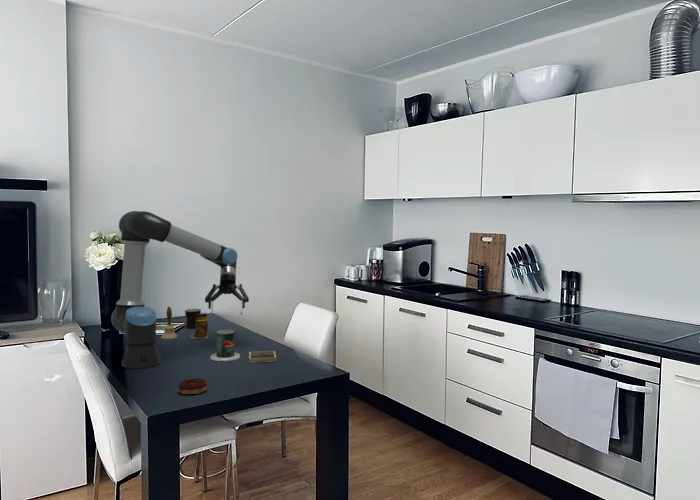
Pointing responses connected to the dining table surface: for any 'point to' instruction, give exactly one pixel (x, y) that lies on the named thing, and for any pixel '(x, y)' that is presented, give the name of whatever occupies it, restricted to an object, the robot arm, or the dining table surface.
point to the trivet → (215, 358)
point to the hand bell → (169, 327)
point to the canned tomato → (225, 343)
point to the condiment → (201, 326)
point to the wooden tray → (259, 353)
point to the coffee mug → (191, 317)
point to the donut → (192, 386)
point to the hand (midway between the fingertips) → (226, 313)
